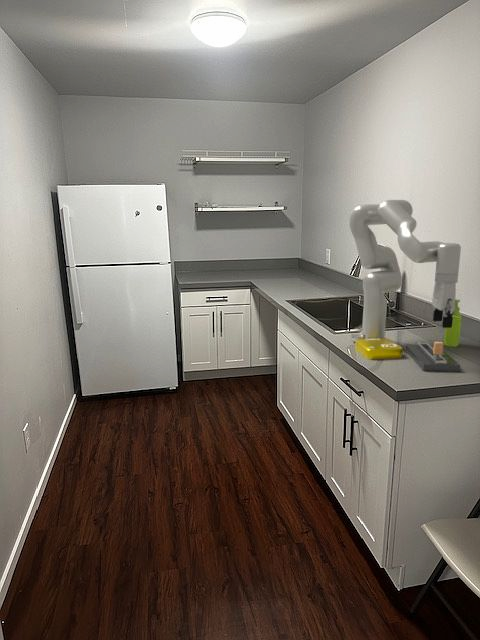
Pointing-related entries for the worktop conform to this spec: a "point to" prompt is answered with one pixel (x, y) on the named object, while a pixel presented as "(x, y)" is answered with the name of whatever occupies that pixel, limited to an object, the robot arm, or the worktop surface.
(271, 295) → the worktop surface
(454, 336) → the soap dispenser
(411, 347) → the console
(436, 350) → the fader knob
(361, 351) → the element tile
